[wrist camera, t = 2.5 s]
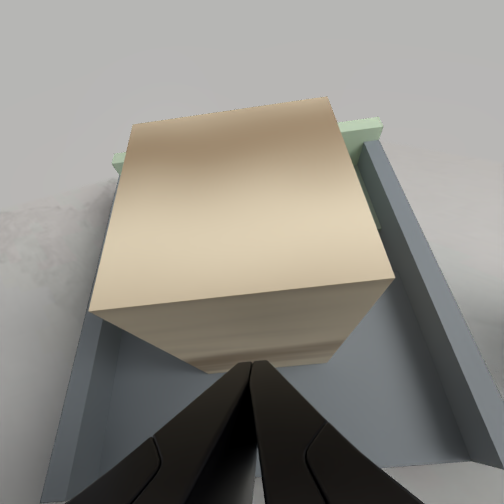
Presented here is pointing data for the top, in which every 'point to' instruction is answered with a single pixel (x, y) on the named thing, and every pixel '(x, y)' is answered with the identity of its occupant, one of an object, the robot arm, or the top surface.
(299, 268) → the beech block
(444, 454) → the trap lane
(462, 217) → the top surface
